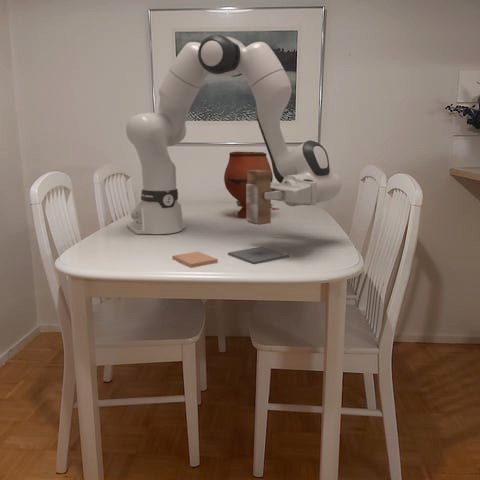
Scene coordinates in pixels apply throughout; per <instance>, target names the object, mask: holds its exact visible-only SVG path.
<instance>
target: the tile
mask: <svg viewBox="0 0 480 480" xmlns="http://www.w3.org/2000/svg"><path fill="white" fill-rule="evenodd" d="M171 257H172V258H171V259H172V260H173V259H174V260H173V261H175V260H176V261H175V262H177V261H178V262H177V263H179V262H180V263H179V264H182V265H184V266H186V267H188V268H191V269H192V268H196V267H197V268H198V267H203V266H208V265H213V264H218V263H219V261H218V258H215V257H212V256H210V255H208V254H205V253H203V252H200V251H193V252H187V253H181V254H176V255H175V254H174V255H171Z"/></svg>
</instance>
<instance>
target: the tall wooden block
mask: <svg viewBox="0 0 480 480" xmlns="http://www.w3.org/2000/svg"><path fill="white" fill-rule="evenodd" d="M271 171H272V170H271ZM271 171H267V170H249V171H247V184H246V211H247V218H246V222H247V223H250V224H255V225H258V226H261V225H266V224H271V223H272V222H271V221H272V220H271V219H272V218H271V217H272V213H271V211H272V209H271V204H272V202H271V199H263V198H262V196H263V195H262V193H263V192H271Z"/></svg>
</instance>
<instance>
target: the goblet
mask: <svg viewBox="0 0 480 480" xmlns="http://www.w3.org/2000/svg"><path fill="white" fill-rule="evenodd" d="M271 167H272V166H271V164H270V162H269V160H268V156H267V153H266V152H261V151H257V152H256V151H230V152H229V157H228V162H227V165H226V168H225V170H224V175H223V176H224V177H223V182H224V186H225V189H226V190H227V191H228V193H229V195H231V196H232V197H233V198H234V199H235V200H236V201H240V205H241V206H242V207H241V208H240V210H239V211H238V212H237V214H236V216H237V217H238V218H241V219H247V211H246V184H247V171H249V170H267V171H271V182H272V183H273V179H274V178H273V177H274V176H273V175H274V174H273V170H272V168H271Z"/></svg>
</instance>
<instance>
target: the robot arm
mask: <svg viewBox="0 0 480 480" xmlns="http://www.w3.org/2000/svg"><path fill="white" fill-rule="evenodd" d="M211 74H212V75H217V76H221V77H232V78H235V77H239V76H243V77H244V78H245V80H246V82H247V84H248V86H249V88H250V90H251V92H252V94H253V98H254V101H255V105H256V120H257V123H258V127H259V130H260V133H261V136H262V138H263V141H264V144H265V146H266V150H267V152H268V155H269V158H270V162H271V167H272V168H271V169H272V174H273V175H274V176H273V177H274V178H275V180H276V181H277V182H273V181H272V182H271V192H263V193H262V195H263V196H262V198H263V199H271V200H273V201H277V202H283V203H285V204H286V205H287V206H289V207H298V206H299V207H300V206H315V205H317V204H318V203H324V202H329V201H331V200H333V199H335V198H336V197H337V196H338V195H339V193H340V191H341V189H342V179H341V177H340V175H339V174H338V173H337V172H335V171H334V170H333V168H332V167H331V165H330V162H329V161H330V160H329V156H328V152H327V150H326V149H325V148H324V146H323V145H321V143H319V142H318V141H315V140H311V139H310V140H307V141H304V142H303V143H301V144H300V145H298V146H296V147H295V148H293V149H292V150H291V151H289V149H288V147H287V143H286V141H285V138H284V136H283V135H284V134H283V133H282V130H281V120H282V116H283V113H284V111H285V109H286V107H287V106H288V104H289V102H290V99H291V96H292V89H293V88H292V84H291V81H290V79H289V76H288V74H287V72H286V71H285V68H284V67H283V65H282V63H281V61H280V59H279V58H278V57H277V55H276V53H275V52H274V50H273V49H272V48H271V47H270V46H269V45H268V43H266V42H264V41H256V42H252V43H250V44H248V45H246V44H245V42H242V41H240V40H238V39H236V38H233V37H231V36H224V35H221V34H213V35H209V36H207V37H206V38H204V39H203V40H202V41H201V42H197V41H190V42H188V43H186V44H185V45H184V46H183V48H181V50H180V51H179V52H178V54H177V55H176V57H175V58H174V60H173V62H172V64H171V65H170V67H169V69H168V71H167V73H166V75H165V77H164V79H163V81H162V83H161V84H160V87H159V88H158V96H159V98H160V99H159V102H158V103H159V104H158V108H157V110H156V111H155V112H141V113H139V114H135V115H133V116H131V117H130V118H129V119H128V121H127V123H126V126H125V134H126V137H127V139H128V141H129V142H130V143H131V144H132V145H133V146H134V148H135V150H136V152H137V155H138V158H139V162H140V167H141V177H142V190H141V192H140V196H141V197H140V202H139V203H138V204H137V206H136V207H135V208H134V210H133V211H132V212H131V216H130V217H131V219H132V220H133V221H132V222H129V223H126V227H127V228H129V229H130V231H132V232H133V233H134V234H135V235H142V234H143V235H145V234H147V235H166V234H167V235H168V234H169V235H170V234H176V233H179V232H181V231H183V229H185V228H187V225H186V224H185V223H184V220H183V210H182V204H181V203H180V202H178V200H179V191H178V188H177V173H176V172H177V170H176V169H177V168H176V165H175V163H174V161H173V160H172V159H171V157H170V155H169V150H168V147H172V146H175V145H177V144H179V143H181V142H182V141H183V140H184V139H185V137H186V134H187V125H186V122H187V119H188V115H189V111H190V109H191V107H192V105H193V103H194V101H195V99H196V97H197V96H198V93H199V92H200V90H201V88H202V86H203V84H204V82H205V81H206V79H207V78H208V76H209V75H211Z"/></svg>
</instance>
